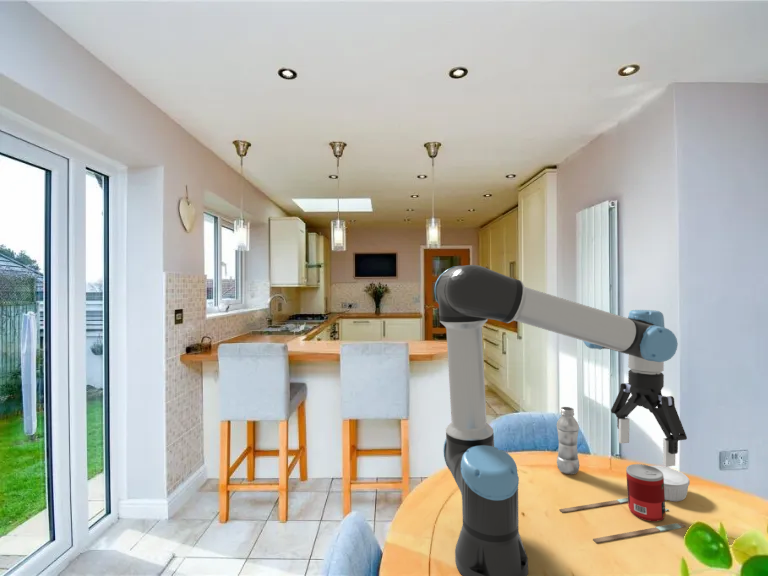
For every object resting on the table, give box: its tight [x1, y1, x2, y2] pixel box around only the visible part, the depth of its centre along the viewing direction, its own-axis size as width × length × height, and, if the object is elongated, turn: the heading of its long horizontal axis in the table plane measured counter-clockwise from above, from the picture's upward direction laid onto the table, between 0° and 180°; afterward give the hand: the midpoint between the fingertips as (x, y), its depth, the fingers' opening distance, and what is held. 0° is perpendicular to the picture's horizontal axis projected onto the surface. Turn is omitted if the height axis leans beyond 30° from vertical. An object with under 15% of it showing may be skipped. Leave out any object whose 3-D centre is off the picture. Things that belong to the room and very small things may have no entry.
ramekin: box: [650, 465, 691, 502], centre depth 111 cm, size 11×11×5 cm
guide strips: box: [559, 497, 687, 544], centre depth 101 cm, size 27×14×1 cm, turn 102°
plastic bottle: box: [556, 406, 580, 475], centre depth 124 cm, size 6×7×20 cm
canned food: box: [625, 463, 666, 522], centre depth 102 cm, size 8×8×11 cm
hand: (645, 453), depth 102 cm, fingers open, 13 cm apart
